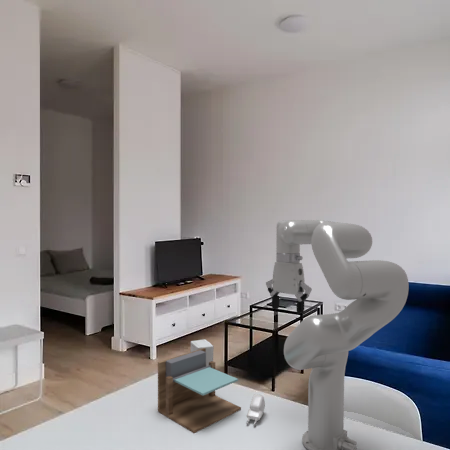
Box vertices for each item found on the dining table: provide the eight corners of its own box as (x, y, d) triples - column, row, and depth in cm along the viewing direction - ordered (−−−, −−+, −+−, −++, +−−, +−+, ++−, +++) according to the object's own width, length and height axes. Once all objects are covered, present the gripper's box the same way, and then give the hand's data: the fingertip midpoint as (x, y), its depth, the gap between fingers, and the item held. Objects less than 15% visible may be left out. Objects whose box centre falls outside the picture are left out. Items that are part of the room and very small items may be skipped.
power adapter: (258, 433, 120) (256, 421, 118) (245, 430, 122) (242, 418, 120) (267, 406, 128) (265, 394, 126) (254, 403, 130) (252, 392, 128)
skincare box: (189, 381, 153) (189, 340, 153) (205, 378, 156) (205, 338, 155) (197, 390, 145) (197, 347, 145) (214, 386, 148) (214, 344, 148)
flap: (239, 382, 128) (239, 363, 128) (201, 398, 117) (201, 378, 117) (201, 366, 141) (201, 349, 141) (163, 379, 130) (163, 361, 130)
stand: (240, 409, 131) (241, 361, 130) (194, 433, 117) (194, 378, 116) (204, 392, 143) (204, 348, 143) (157, 411, 129) (157, 362, 129)
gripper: (317, 259, 127) (316, 313, 128) (273, 255, 139) (273, 304, 140) (304, 261, 122) (303, 317, 122) (260, 257, 134) (259, 308, 134)
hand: (287, 310), depth 131 cm, fingers open, 9 cm apart
